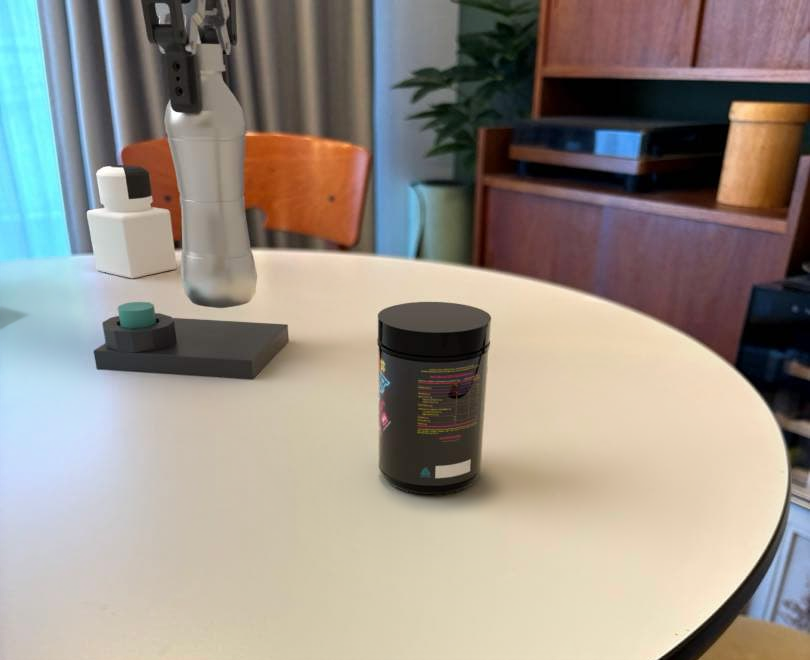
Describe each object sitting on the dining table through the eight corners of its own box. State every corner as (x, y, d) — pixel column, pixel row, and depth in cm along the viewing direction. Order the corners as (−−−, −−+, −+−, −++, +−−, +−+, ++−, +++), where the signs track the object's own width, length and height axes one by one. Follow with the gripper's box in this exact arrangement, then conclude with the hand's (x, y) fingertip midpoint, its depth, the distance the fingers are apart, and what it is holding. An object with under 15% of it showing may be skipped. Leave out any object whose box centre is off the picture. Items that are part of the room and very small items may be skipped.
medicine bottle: (141, 261, 108) (127, 161, 102) (178, 269, 105) (165, 166, 99) (95, 271, 103) (77, 166, 97) (132, 279, 100) (115, 171, 94)
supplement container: (443, 446, 58) (448, 296, 53) (502, 483, 53) (515, 322, 48) (359, 467, 55) (356, 310, 50) (414, 509, 50) (417, 339, 45)
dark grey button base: (96, 369, 71) (89, 329, 69) (149, 333, 81) (144, 297, 79) (252, 380, 69) (249, 339, 68) (289, 341, 79) (286, 304, 77)
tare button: (114, 330, 71) (111, 309, 70) (130, 320, 73) (127, 301, 72) (148, 332, 70) (144, 311, 69) (162, 322, 73) (159, 302, 72)
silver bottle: (230, 293, 77) (209, 44, 67) (274, 307, 73) (258, 45, 63) (169, 304, 73) (137, 42, 63) (212, 320, 69) (184, 42, 59)
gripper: (166, -142, 64) (191, 104, 72) (73, -190, 51) (116, 114, 60) (260, -143, 63) (274, 106, 71) (188, -192, 50) (216, 117, 59)
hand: (202, 109), depth 65 cm, fingers closed on silver bottle, 6 cm apart
